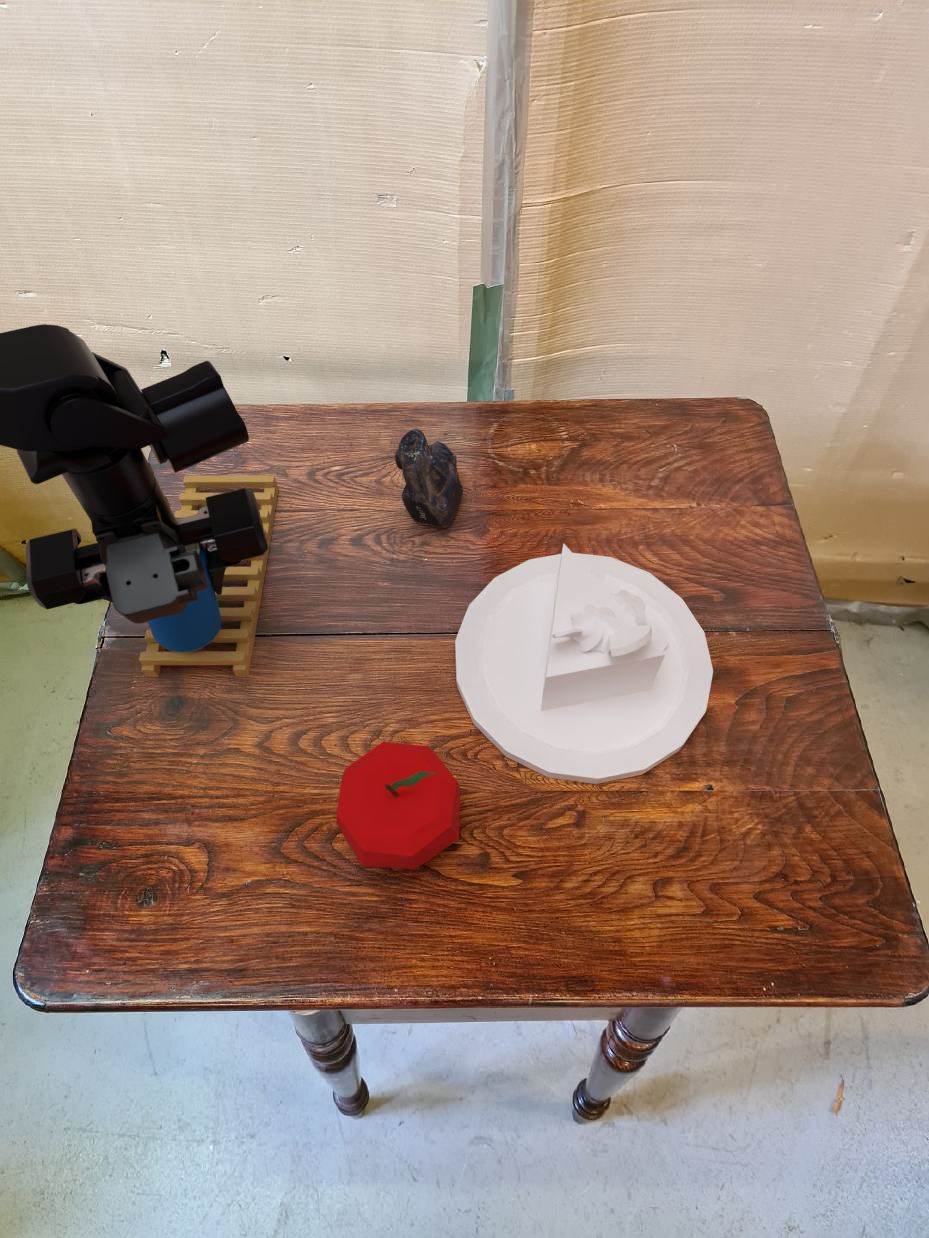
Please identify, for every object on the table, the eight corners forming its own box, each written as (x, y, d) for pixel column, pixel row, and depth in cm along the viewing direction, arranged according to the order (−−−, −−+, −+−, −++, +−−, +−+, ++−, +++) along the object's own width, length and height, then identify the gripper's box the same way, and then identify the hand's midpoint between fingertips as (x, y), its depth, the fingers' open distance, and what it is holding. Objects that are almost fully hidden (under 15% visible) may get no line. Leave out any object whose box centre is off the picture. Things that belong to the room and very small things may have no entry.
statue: (476, 477, 91) (476, 374, 78) (441, 557, 85) (435, 460, 72) (430, 466, 92) (423, 362, 79) (392, 544, 86) (378, 445, 73)
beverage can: (169, 594, 79) (144, 514, 69) (232, 609, 79) (216, 532, 69) (141, 647, 75) (110, 571, 65) (207, 663, 75) (186, 590, 65)
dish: (749, 752, 73) (791, 697, 64) (484, 807, 70) (486, 758, 61) (660, 543, 86) (684, 472, 76) (433, 583, 83) (428, 514, 74)
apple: (356, 900, 66) (339, 868, 58) (331, 783, 72) (313, 738, 63) (478, 864, 68) (479, 828, 59) (445, 752, 73) (441, 705, 65)
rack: (248, 677, 78) (242, 664, 75) (146, 677, 78) (137, 665, 76) (278, 490, 90) (274, 474, 88) (191, 490, 90) (184, 475, 88)
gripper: (-12, 604, 54) (81, 704, 68) (258, 537, 57) (297, 645, 71) (-13, 487, 60) (74, 600, 73) (233, 431, 63) (273, 550, 76)
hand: (180, 601), depth 73 cm, fingers closed on beverage can, 7 cm apart
